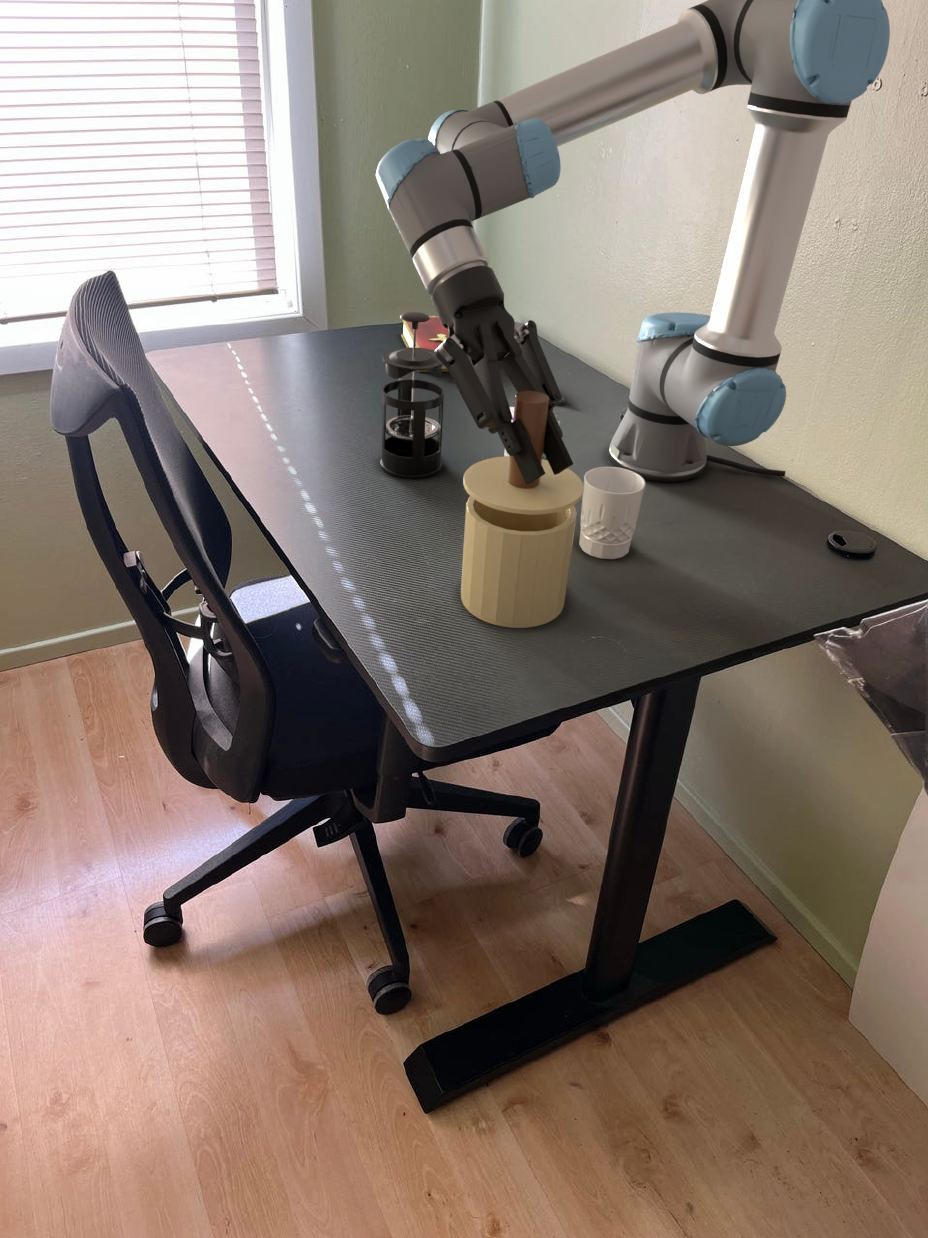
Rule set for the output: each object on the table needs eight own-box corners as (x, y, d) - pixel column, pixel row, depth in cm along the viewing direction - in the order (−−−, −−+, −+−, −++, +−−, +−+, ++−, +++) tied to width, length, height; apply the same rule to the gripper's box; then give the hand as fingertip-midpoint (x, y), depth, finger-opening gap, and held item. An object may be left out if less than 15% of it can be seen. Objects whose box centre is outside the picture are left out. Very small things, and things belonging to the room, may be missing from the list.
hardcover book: (458, 334, 199) (459, 314, 197) (480, 370, 182) (482, 348, 180) (401, 335, 197) (401, 314, 194) (418, 372, 180) (419, 349, 178)
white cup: (595, 526, 134) (605, 461, 128) (644, 547, 130) (656, 479, 124) (563, 547, 128) (572, 479, 123) (613, 568, 124) (624, 499, 119)
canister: (569, 579, 122) (581, 491, 115) (557, 635, 111) (570, 541, 104) (471, 565, 123) (477, 476, 116) (451, 618, 113) (456, 525, 106)
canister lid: (587, 474, 114) (600, 383, 107) (576, 527, 103) (590, 429, 96) (475, 458, 115) (481, 367, 109) (451, 509, 104) (457, 411, 98)
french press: (449, 478, 143) (457, 325, 131) (387, 483, 141) (389, 327, 128) (431, 446, 153) (436, 299, 140) (373, 449, 150) (373, 301, 138)
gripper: (497, 289, 113) (581, 469, 112) (384, 310, 104) (475, 506, 103) (533, 253, 107) (622, 442, 106) (416, 272, 98) (513, 480, 97)
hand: (549, 473), depth 105 cm, fingers closed on canister lid, 4 cm apart
